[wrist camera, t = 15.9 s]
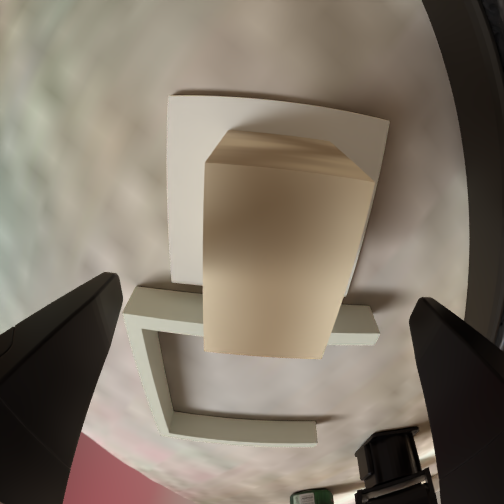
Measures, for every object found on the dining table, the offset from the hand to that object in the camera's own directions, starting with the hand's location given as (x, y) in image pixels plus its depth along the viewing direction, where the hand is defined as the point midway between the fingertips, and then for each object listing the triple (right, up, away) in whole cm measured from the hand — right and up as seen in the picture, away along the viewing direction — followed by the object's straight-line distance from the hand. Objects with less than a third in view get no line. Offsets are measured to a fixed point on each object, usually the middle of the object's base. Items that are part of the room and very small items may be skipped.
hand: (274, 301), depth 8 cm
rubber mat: (0, +4, +7) cm, 8 cm away
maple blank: (0, +3, +6) cm, 7 cm away
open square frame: (-1, -8, +14) cm, 16 cm away
